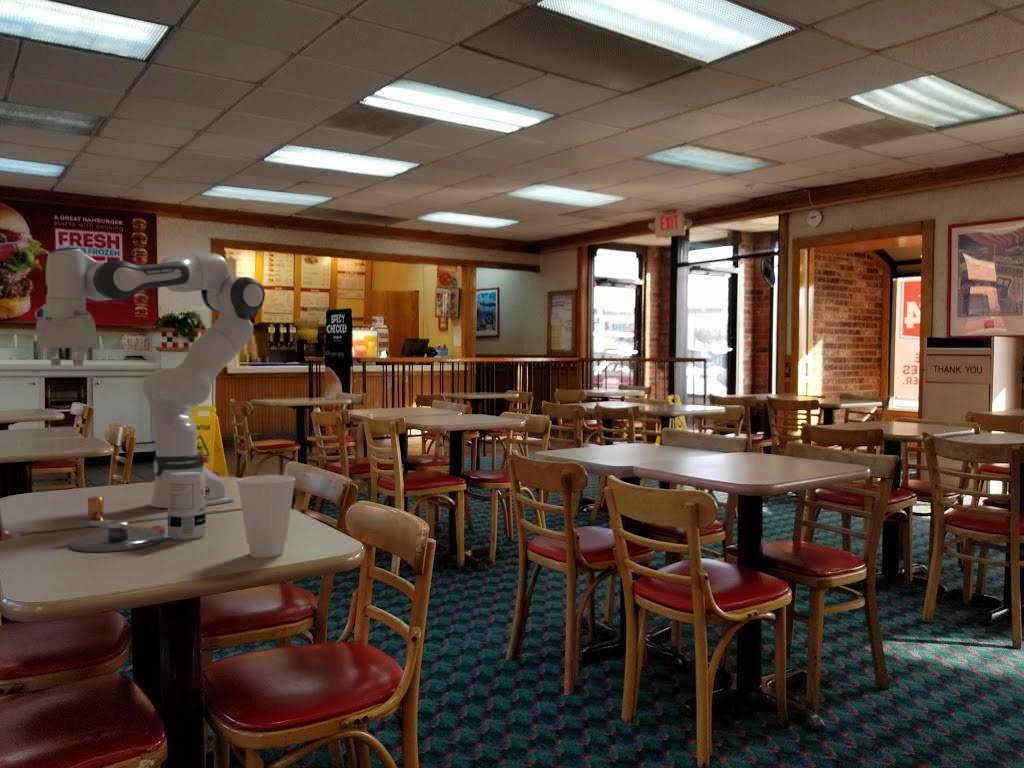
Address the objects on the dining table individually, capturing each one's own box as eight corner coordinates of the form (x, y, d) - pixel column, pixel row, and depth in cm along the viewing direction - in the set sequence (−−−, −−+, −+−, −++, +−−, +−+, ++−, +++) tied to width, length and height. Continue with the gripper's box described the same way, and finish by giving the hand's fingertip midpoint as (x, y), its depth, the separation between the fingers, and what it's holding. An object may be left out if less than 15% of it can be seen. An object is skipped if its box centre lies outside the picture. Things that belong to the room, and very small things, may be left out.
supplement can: (161, 537, 188) (161, 473, 188) (196, 531, 195) (195, 469, 194) (177, 542, 183) (176, 476, 183) (212, 536, 189) (211, 472, 189)
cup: (240, 562, 164) (239, 484, 164) (235, 550, 175) (234, 476, 175) (300, 557, 169) (299, 480, 169) (291, 545, 180) (291, 473, 180)
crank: (170, 533, 177) (170, 504, 177) (153, 536, 173) (152, 508, 173) (100, 522, 189) (100, 495, 189) (82, 525, 185) (82, 498, 185)
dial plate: (149, 530, 196) (148, 518, 196) (175, 543, 182) (175, 530, 182) (61, 541, 184) (61, 528, 184) (82, 556, 169) (82, 542, 169)
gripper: (103, 310, 203) (103, 365, 204) (54, 313, 213) (55, 365, 214) (79, 309, 198) (79, 366, 198) (30, 312, 208) (31, 365, 208)
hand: (67, 365), depth 206 cm, fingers open, 8 cm apart
